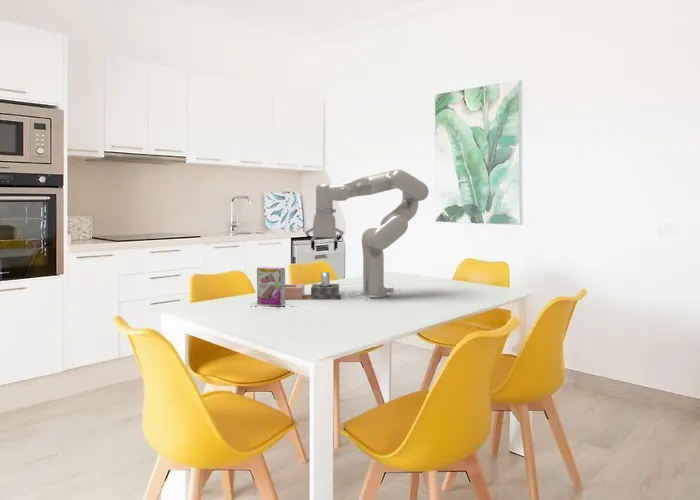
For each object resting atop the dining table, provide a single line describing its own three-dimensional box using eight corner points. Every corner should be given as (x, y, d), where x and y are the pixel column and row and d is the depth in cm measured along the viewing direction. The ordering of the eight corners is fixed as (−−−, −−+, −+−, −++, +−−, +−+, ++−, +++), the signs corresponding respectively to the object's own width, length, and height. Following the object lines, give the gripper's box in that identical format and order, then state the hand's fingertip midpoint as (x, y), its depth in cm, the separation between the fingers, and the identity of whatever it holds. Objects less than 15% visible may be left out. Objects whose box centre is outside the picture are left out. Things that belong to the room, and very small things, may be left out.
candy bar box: (256, 306, 233) (256, 267, 232) (262, 304, 238) (261, 266, 237) (280, 307, 230) (280, 268, 228) (286, 305, 234) (285, 267, 233)
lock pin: (330, 296, 252) (329, 272, 251) (329, 297, 248) (329, 273, 247) (321, 296, 252) (321, 272, 251) (320, 297, 248) (320, 273, 247)
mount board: (341, 296, 257) (341, 283, 256) (340, 301, 243) (340, 288, 242) (276, 296, 257) (276, 283, 256) (272, 302, 243) (272, 288, 243)
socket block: (304, 294, 256) (304, 284, 255) (302, 299, 244) (301, 288, 243) (278, 294, 256) (278, 284, 255) (274, 299, 244) (274, 288, 244)
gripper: (343, 212, 250) (343, 249, 252) (305, 211, 250) (305, 249, 252) (343, 212, 243) (343, 251, 244) (304, 212, 243) (304, 250, 244)
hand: (324, 250), depth 248 cm, fingers open, 9 cm apart
